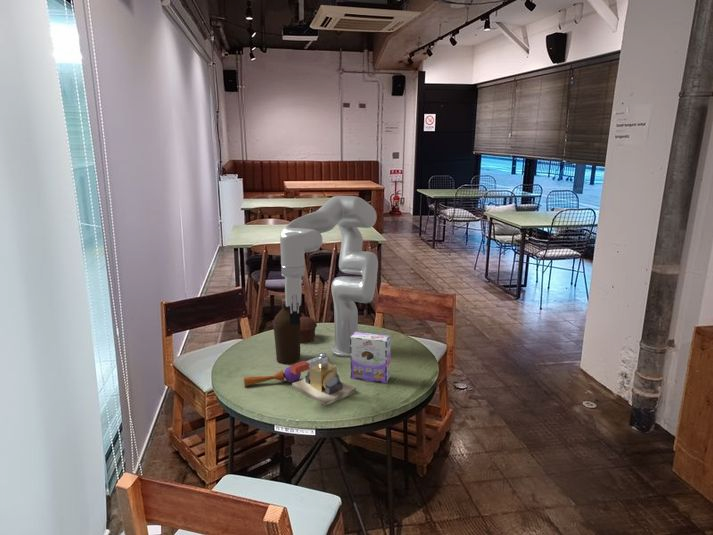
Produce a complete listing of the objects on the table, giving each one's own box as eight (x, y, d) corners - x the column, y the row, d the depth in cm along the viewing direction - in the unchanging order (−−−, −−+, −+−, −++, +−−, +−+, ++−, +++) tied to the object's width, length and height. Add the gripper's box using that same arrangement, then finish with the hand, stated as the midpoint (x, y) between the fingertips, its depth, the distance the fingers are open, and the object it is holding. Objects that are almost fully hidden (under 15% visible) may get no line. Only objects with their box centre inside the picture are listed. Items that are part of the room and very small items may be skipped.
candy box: (390, 377, 180) (391, 335, 176) (386, 384, 175) (386, 341, 171) (355, 371, 184) (355, 330, 180) (350, 378, 179) (349, 336, 175)
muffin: (300, 346, 207) (299, 324, 205) (285, 339, 215) (284, 318, 213) (322, 339, 215) (322, 318, 213) (307, 332, 223) (306, 311, 221)
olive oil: (294, 366, 189) (292, 305, 183) (270, 362, 192) (266, 302, 186) (306, 355, 199) (304, 296, 193) (282, 352, 202) (280, 294, 196)
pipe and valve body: (319, 376, 178) (319, 358, 176) (343, 388, 168) (343, 369, 167) (304, 382, 173) (303, 364, 171) (328, 395, 164) (327, 376, 162)
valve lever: (323, 363, 171) (323, 351, 170) (329, 366, 169) (329, 354, 168) (290, 376, 162) (289, 364, 160) (296, 379, 159) (295, 367, 158)
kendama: (243, 371, 177) (299, 362, 180) (245, 387, 177) (301, 378, 180) (242, 376, 171) (300, 366, 174) (245, 392, 171) (302, 383, 175)
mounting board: (322, 374, 182) (322, 371, 182) (356, 391, 169) (356, 387, 169) (292, 387, 173) (292, 383, 172) (325, 406, 160) (325, 402, 160)
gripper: (281, 265, 166) (283, 316, 170) (281, 276, 152) (283, 332, 156) (303, 264, 167) (305, 315, 171) (305, 275, 153) (307, 331, 157)
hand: (295, 323), depth 164 cm, fingers closed
